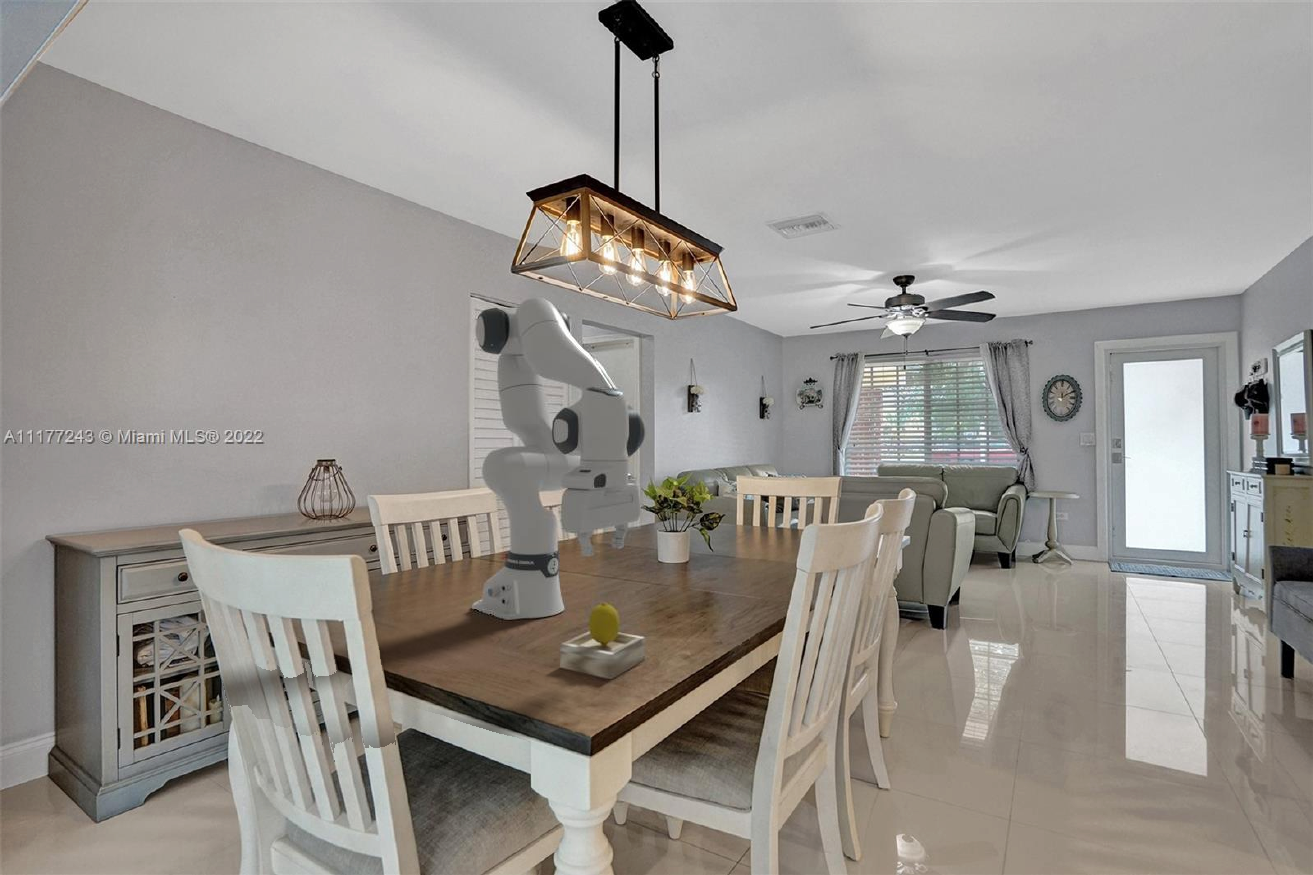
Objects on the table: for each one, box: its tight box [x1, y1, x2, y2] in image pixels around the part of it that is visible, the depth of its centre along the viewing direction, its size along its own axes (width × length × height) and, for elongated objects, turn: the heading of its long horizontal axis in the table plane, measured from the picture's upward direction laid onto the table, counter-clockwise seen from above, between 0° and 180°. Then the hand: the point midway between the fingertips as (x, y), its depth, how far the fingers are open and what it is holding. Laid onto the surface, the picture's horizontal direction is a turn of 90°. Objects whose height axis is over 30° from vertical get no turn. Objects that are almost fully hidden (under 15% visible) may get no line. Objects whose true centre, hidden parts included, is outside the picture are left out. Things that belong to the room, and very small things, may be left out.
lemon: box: [588, 602, 620, 646], centre depth 116 cm, size 6×6×8 cm
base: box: [559, 630, 646, 680], centre depth 116 cm, size 11×11×4 cm
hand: (603, 551), depth 116 cm, fingers open, 8 cm apart
